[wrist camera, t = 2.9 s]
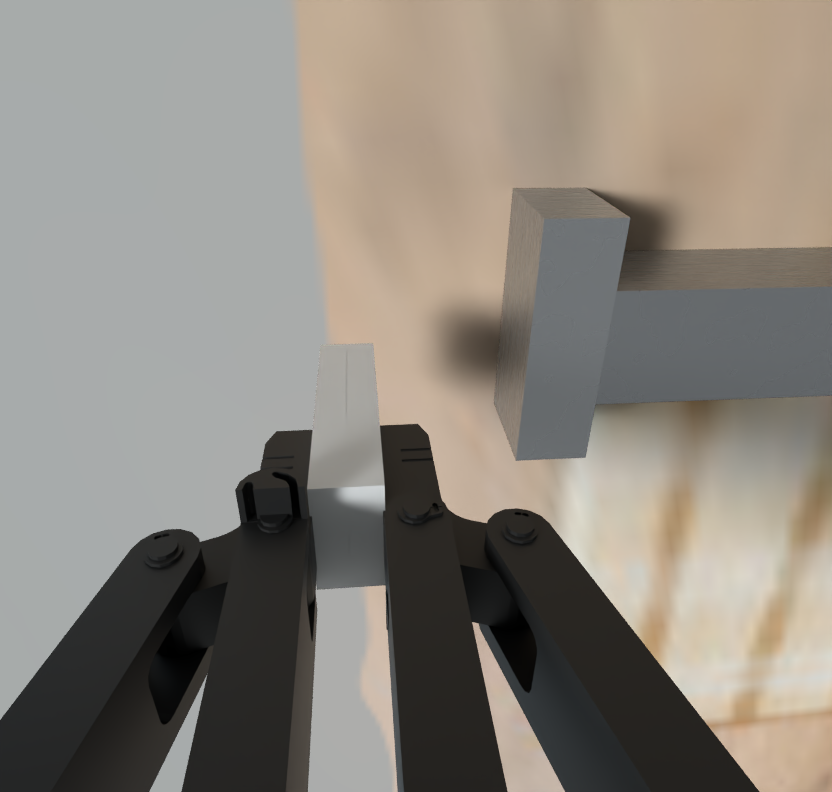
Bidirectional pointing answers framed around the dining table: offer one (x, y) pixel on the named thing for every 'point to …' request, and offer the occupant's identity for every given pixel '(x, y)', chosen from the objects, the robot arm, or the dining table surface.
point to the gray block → (645, 322)
